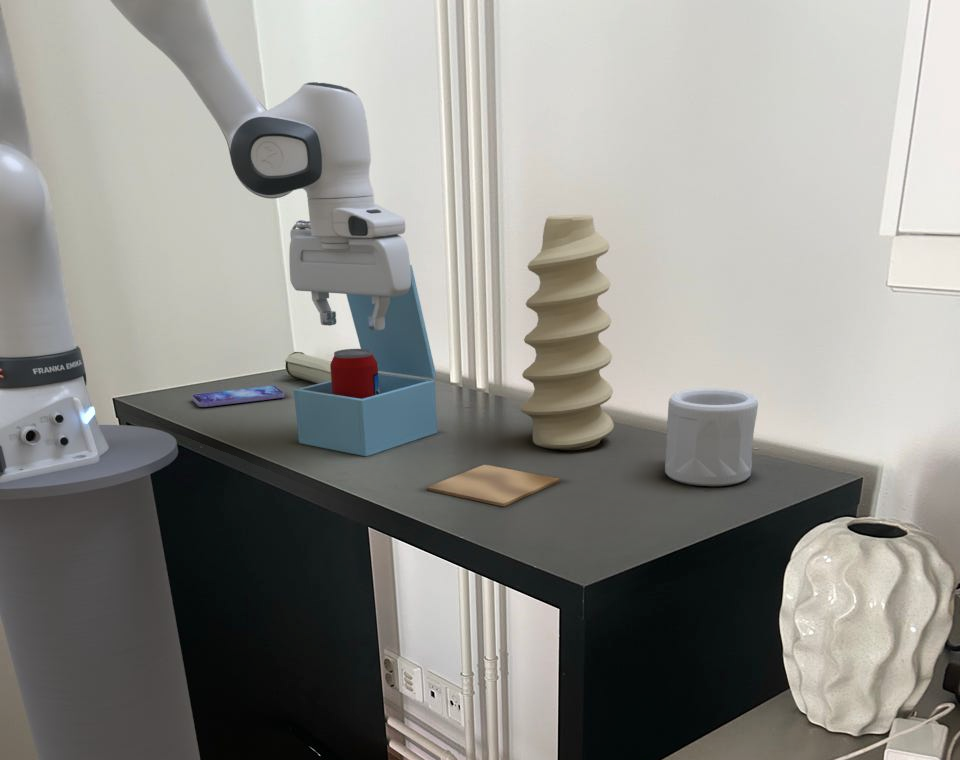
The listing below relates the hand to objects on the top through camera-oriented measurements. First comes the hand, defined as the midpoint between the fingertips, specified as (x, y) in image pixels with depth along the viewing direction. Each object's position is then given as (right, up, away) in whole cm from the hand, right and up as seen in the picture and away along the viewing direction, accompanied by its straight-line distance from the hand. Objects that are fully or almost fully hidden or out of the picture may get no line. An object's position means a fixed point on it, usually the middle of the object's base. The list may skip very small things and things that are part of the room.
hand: (352, 327), depth 139 cm
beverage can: (0, -14, +7) cm, 16 cm away
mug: (+46, -23, -12) cm, 53 cm away
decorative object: (+31, -15, +4) cm, 34 cm away
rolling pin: (-10, +2, +41) cm, 42 cm away
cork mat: (+20, -25, -15) cm, 35 cm away
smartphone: (-24, -2, +35) cm, 42 cm away
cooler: (+1, -14, +8) cm, 16 cm away
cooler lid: (+4, +2, +5) cm, 7 cm away
